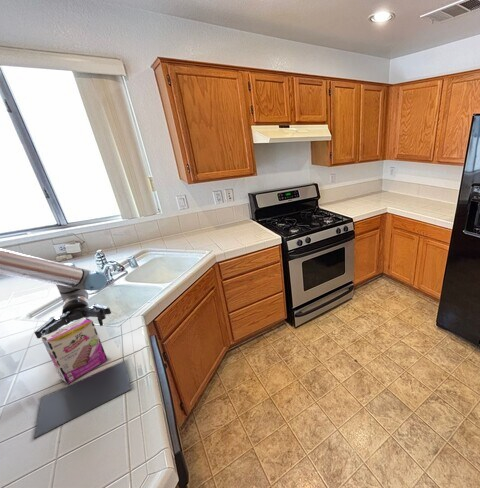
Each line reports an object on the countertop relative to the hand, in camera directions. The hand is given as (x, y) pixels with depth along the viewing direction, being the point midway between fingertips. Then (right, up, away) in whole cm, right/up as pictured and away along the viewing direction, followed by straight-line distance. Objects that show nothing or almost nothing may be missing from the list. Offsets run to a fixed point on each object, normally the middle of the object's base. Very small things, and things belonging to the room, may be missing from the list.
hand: (75, 331), depth 89 cm
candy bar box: (+7, -12, -3) cm, 14 cm away
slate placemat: (+15, -14, -12) cm, 24 cm away
